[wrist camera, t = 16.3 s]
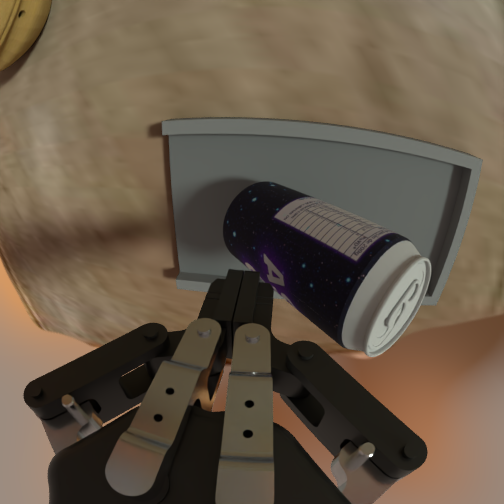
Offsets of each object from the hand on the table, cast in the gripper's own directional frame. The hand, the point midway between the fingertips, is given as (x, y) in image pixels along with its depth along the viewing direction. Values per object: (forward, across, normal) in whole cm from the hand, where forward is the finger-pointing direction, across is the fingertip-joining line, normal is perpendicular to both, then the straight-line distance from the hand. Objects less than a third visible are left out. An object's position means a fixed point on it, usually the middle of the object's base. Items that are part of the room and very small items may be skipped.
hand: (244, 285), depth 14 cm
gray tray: (+10, -5, 0) cm, 11 cm away
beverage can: (+7, 0, 0) cm, 7 cm away
